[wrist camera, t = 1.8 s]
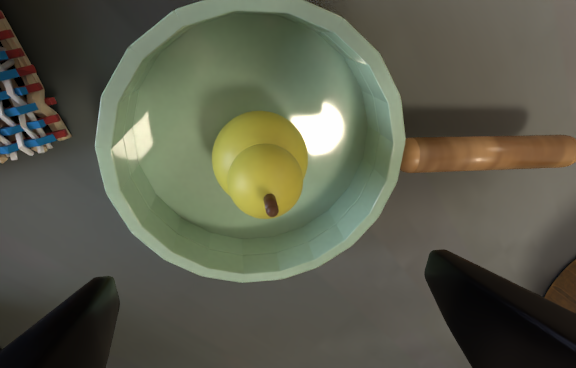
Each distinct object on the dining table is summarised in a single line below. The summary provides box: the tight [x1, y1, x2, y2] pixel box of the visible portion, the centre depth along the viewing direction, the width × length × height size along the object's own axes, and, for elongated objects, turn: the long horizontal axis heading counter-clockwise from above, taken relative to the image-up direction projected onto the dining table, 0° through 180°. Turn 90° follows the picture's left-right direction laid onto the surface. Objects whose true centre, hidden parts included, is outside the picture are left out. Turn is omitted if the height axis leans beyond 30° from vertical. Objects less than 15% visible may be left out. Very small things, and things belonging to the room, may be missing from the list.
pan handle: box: [400, 135, 576, 173], centre depth 19 cm, size 2×12×2 cm, turn 88°
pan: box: [95, 0, 406, 283], centre depth 18 cm, size 15×15×4 cm
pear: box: [212, 111, 308, 219], centre depth 16 cm, size 5×5×8 cm
